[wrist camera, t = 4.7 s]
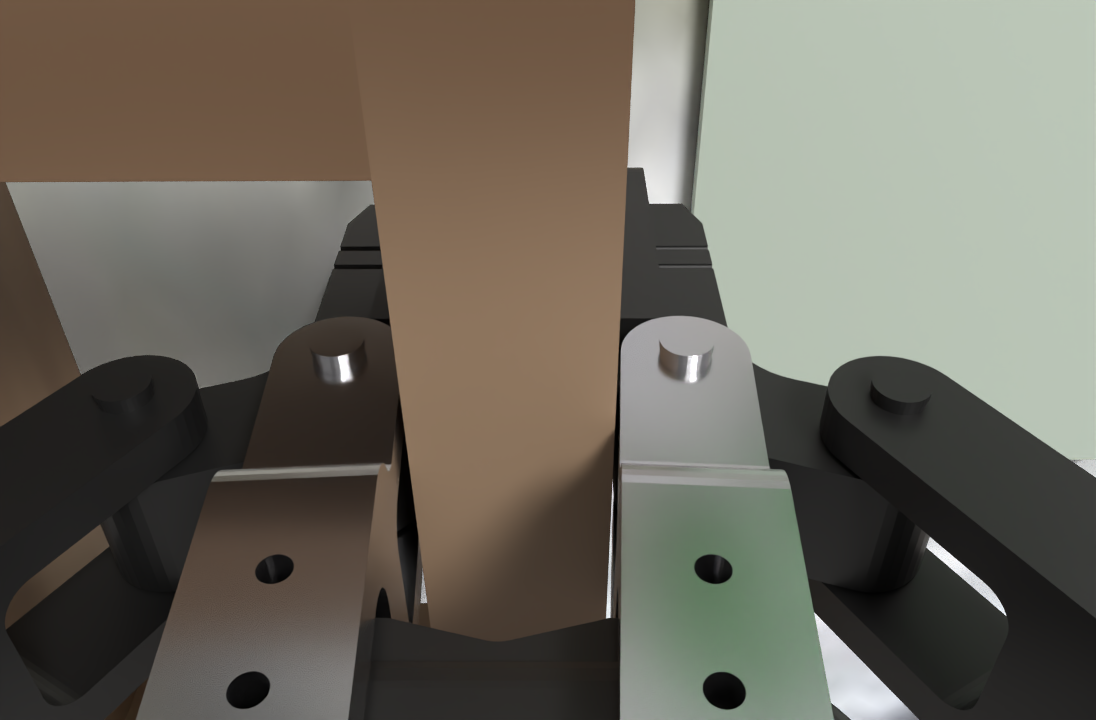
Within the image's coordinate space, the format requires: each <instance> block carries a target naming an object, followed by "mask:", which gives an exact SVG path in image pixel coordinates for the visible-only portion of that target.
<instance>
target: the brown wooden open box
mask: <svg viewBox="0 0 1096 720" xmlns="http://www.w3.org/2000/svg"><path fill="white" fill-rule="evenodd" d="M634 16H635V0H0V427H1V426H2V425H4V424H6V423H7V422H9V421H10V420H12V419H13V418H15V417H17V416H18V415H20V414H21V413H23V412H24V411H26V410H27V409H29V408H31V407H32V406H34V405H35V404H37V403H38V402H40V401H41V400H43V399H45V398H46V397H48V396H49V395H51V394H52V393H54V392H56V391H57V390H59V389H60V388H62V387H63V386H65V385H66V384H68V383H70V382H71V381H73V380H74V379H76V378H77V377H79V376H80V375H81V374H80V372H79V369H78V367H77V364H76V361H75V359H74V356H73V354H72V351H71V349H70V346H69V344H68V341H67V338H66V336H65V333H64V331H63V328H62V326H61V323H60V320H59V318H58V315H57V313H56V310H55V308H54V305H53V303H52V300H51V297H50V295H49V292H48V290H47V287H46V285H45V282H44V280H43V277H42V274H41V272H40V269H39V267H38V264H37V262H36V259H35V257H34V254H33V251H32V249H31V246H30V244H29V241H28V239H27V236H26V233H25V231H24V228H23V226H22V223H21V221H20V218H19V216H18V213H17V210H16V208H15V205H14V203H13V200H12V198H11V195H10V193H9V190H8V187H7V185H6V182H129V181H367V180H372V188H373V195H374V203H375V211H376V218H377V226H378V233H379V241H380V248H381V256H382V263H383V271H384V279H385V286H386V294H387V301H388V309H389V316H390V324H391V331H392V339H393V347H394V354H395V362H396V369H397V377H398V384H399V392H400V399H401V407H402V415H403V422H404V430H405V437H406V445H407V452H408V460H409V467H410V475H411V483H412V490H413V498H414V505H415V513H416V520H417V528H418V535H419V543H420V551H421V558H422V566H423V573H424V581H425V588H426V596H427V603H420V617H419V625H421V626H426V627H430V628H434V629H439V630H443V631H447V632H452V633H456V634H460V635H465V636H469V637H474V638H478V639H482V640H487V641H508V640H513V639H517V638H522V637H526V636H531V635H535V634H540V633H544V632H549V631H553V630H558V629H562V628H567V627H571V626H576V625H580V624H585V623H589V622H594V621H598V620H603V619H606V606H607V584H608V563H609V542H610V521H611V500H612V479H613V458H614V437H615V416H616V395H617V374H618V353H619V332H620V311H621V290H622V269H623V247H624V226H625V205H626V184H627V163H628V142H629V121H630V100H631V79H632V58H633V37H634ZM108 547H109V544H108V542H107V539H106V537H105V534H104V532H103V530H102V527H101V525H99V526H97V527H96V528H95V529H94V530H92V531H91V532H90V533H88V534H87V535H86V536H85V537H83V538H82V539H81V540H79V541H78V542H77V543H76V544H74V545H73V546H72V547H70V548H69V549H68V550H67V551H65V552H64V553H63V554H61V555H60V556H59V557H58V558H56V559H55V560H54V561H52V562H51V563H50V564H49V565H47V566H46V567H45V568H43V569H42V570H41V571H40V572H38V573H37V574H36V575H34V576H33V577H32V578H31V579H29V580H28V581H27V582H26V583H25V584H24V585H23V586H22V587H21V588H20V589H19V590H18V591H17V593H16V594H15V596H14V597H13V599H12V600H11V602H10V604H9V607H8V609H7V612H6V616H5V628H6V629H7V628H8V627H10V626H11V625H12V624H13V623H15V622H16V621H17V620H18V619H20V618H21V617H22V616H23V615H25V614H26V613H27V612H28V611H30V610H31V609H32V608H33V607H35V606H36V605H37V604H38V603H40V602H41V601H42V600H43V599H44V598H46V597H47V596H48V595H49V594H51V593H52V592H53V591H54V590H56V589H57V588H58V587H59V586H61V585H62V584H63V583H64V582H66V581H67V580H68V579H69V578H71V577H72V576H73V575H74V574H76V573H77V572H78V571H79V570H81V569H82V568H83V567H84V566H86V565H87V564H88V563H89V562H90V561H92V560H93V559H94V558H95V557H97V556H98V555H99V554H100V553H102V552H103V551H104V550H105V549H107V548H108ZM148 679H149V678H147V679H146V680H145V681H144V682H143V683H142V684H141V685H140V686H139V687H138V688H137V689H136V690H135V691H134V692H133V693H132V694H131V695H130V696H129V697H127V698H126V699H125V700H124V701H123V702H122V703H121V704H120V705H119V706H118V707H117V708H116V709H115V710H114V711H113V712H112V713H111V714H110V715H109V716H107V717H106V718H105V719H104V720H136V717H137V714H138V711H139V708H140V705H141V701H142V698H143V695H144V692H145V689H146V685H147V682H148Z"/></svg>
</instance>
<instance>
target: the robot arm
mask: <svg viewBox="0 0 1096 720" xmlns="http://www.w3.org/2000/svg"><path fill="white" fill-rule="evenodd" d="M340 247H341V251H339V252H338V255H337V258H336V261H335V264H334V267H335V268H334V269H333V270H332V273H331V276H330V279H329V282H328V285H327V288H326V291H325V293H324V296H323V299H322V302H321V305H320V308H319V311H318V314H317V317H316V320H315V322H314V323H311V324H309V325H306V326H304V327H302V328H300V329H298V330H296V331H295V332H293V333H292V334H291V335H289V336H288V337H287V338H286V339H285V340H284V341H283V342H281V344H280V345H279V347H278V348H277V349H276V352H275V354H274V357H273V360H272V364H271V368H270V371H268V372H266V373H263V374H261V375H258V376H255V377H251V378H247V379H244V380H239V381H234V382H230V383H225V384H220V385H215V386H211V387H206V388H201V389H199V388H198V384H197V381H196V378H195V375H194V373H193V372H192V370H191V369H190V368H189V367H188V366H187V365H185V364H184V363H182V362H180V361H178V360H175V359H172V358H169V357H163V356H153V355H145V356H133V357H126V358H122V359H118V360H114V361H111V362H108V363H105V364H102V365H100V366H98V367H95V368H93V369H91V370H89V371H87V372H86V373H84V374H82V375H80V376H79V377H77V378H76V379H74V380H73V381H71V382H70V383H68V384H66V385H65V386H63V387H62V388H60V389H59V390H57V391H56V392H54V393H52V394H51V395H49V396H48V397H46V398H45V399H43V400H41V401H40V402H38V403H37V404H35V405H34V406H32V407H31V408H29V409H27V410H26V411H24V412H23V413H21V414H20V415H18V416H17V417H15V418H13V419H12V420H10V421H9V422H7V423H6V424H4V425H2V426H1V427H0V720H104V719H105V718H106V717H107V716H109V715H110V714H111V713H112V712H113V711H114V710H115V709H116V708H117V707H118V706H119V705H120V704H121V703H122V702H123V701H124V700H125V699H126V698H127V697H129V696H130V695H131V694H132V693H133V692H134V691H135V690H136V689H137V688H138V687H139V686H140V685H141V684H142V683H143V682H144V681H145V680H146V679H147V678H149V679H148V682H147V685H146V689H145V692H144V695H143V698H142V701H141V705H140V708H139V711H138V714H137V717H136V720H851V719H849V718H848V717H847V716H846V715H845V714H844V713H843V712H841V711H840V710H839V709H838V708H837V707H836V706H834V705H833V704H832V703H831V701H830V696H829V690H828V685H827V680H826V674H825V669H824V664H823V658H822V653H821V647H820V642H819V637H818V631H817V626H816V621H815V615H814V612H815V613H816V614H817V615H818V616H819V617H820V618H821V620H822V621H823V622H824V623H825V624H826V625H827V626H828V627H829V628H830V629H831V630H832V631H833V632H834V633H835V634H836V635H837V636H838V637H839V638H840V639H841V640H842V641H843V642H844V643H845V644H846V645H847V646H848V647H849V648H850V649H851V650H852V651H853V652H854V653H855V654H856V655H857V656H858V657H859V658H860V659H861V660H862V661H863V662H864V663H865V664H866V666H867V667H868V668H869V669H870V670H871V671H872V672H873V673H874V674H875V675H876V676H877V677H878V678H879V679H880V680H881V681H882V682H883V683H884V684H885V685H886V686H887V687H888V688H889V689H890V690H891V691H892V692H893V693H894V694H895V695H896V696H897V697H898V698H899V699H900V700H901V701H902V702H903V703H904V704H905V705H906V706H907V707H908V708H909V709H910V710H911V711H912V713H913V714H914V715H915V716H916V717H917V718H918V719H919V720H1096V478H1095V477H1094V476H1093V475H1091V474H1090V473H1088V472H1087V471H1085V470H1084V469H1082V468H1081V467H1079V466H1078V465H1076V464H1075V463H1074V462H1072V461H1071V460H1069V459H1068V458H1066V457H1065V456H1063V455H1062V454H1060V453H1059V452H1057V451H1056V450H1054V449H1053V448H1052V447H1050V446H1049V445H1047V444H1046V443H1044V442H1043V441H1041V440H1040V439H1038V438H1037V437H1035V436H1034V435H1033V434H1031V433H1030V432H1028V431H1027V430H1025V429H1024V428H1022V427H1021V426H1019V425H1018V424H1016V423H1015V422H1014V421H1012V420H1011V419H1009V418H1008V417H1006V416H1005V415H1003V414H1002V413H1000V412H999V411H997V410H996V409H995V408H993V407H992V406H990V405H989V404H987V403H986V402H984V401H983V400H981V399H980V398H978V397H977V396H976V395H974V394H973V393H971V392H970V391H968V390H967V389H965V388H964V387H962V386H961V385H959V384H958V383H957V382H955V381H954V380H952V379H951V378H949V377H948V376H946V375H945V374H943V373H941V372H940V371H938V370H936V369H934V368H932V367H930V366H927V365H925V364H922V363H919V362H916V361H913V360H909V359H905V358H899V357H892V356H868V357H863V358H858V359H855V360H852V361H849V362H847V363H845V364H843V365H841V366H840V367H839V368H838V369H836V370H835V371H834V373H833V374H832V375H831V377H830V380H829V383H828V386H824V385H819V384H814V383H810V382H805V381H800V380H795V379H791V378H787V377H784V376H780V375H778V374H775V373H772V372H769V371H767V370H765V369H763V368H761V367H759V366H758V365H756V364H754V363H753V362H752V359H751V354H750V351H749V348H748V346H747V345H746V343H745V341H744V340H743V339H742V338H741V337H740V336H739V335H738V334H736V333H735V332H734V331H732V330H731V329H729V328H728V326H727V322H726V318H725V314H724V310H723V306H722V302H721V298H720V294H719V289H718V285H717V281H716V277H715V273H714V269H713V268H712V261H711V257H710V252H709V250H708V244H707V240H706V236H705V232H704V228H703V224H702V222H700V221H699V220H698V219H697V218H696V217H695V216H694V215H693V214H692V213H691V212H690V211H689V210H688V209H687V208H686V207H685V206H684V205H683V204H649V201H648V195H647V189H646V183H645V176H644V170H643V168H627V184H626V205H625V226H624V247H623V269H622V290H621V311H620V332H619V353H618V374H617V395H616V416H615V437H614V458H613V492H614V501H613V521H612V566H611V618H607V619H603V620H598V621H594V622H589V623H585V624H580V625H576V626H571V627H567V628H562V629H558V630H553V631H549V632H544V633H540V634H535V635H531V636H526V637H522V638H517V639H513V640H508V641H487V640H482V639H478V638H474V637H469V636H465V635H460V634H456V633H452V632H447V631H443V630H439V629H434V628H430V627H426V626H421V625H419V617H420V601H421V585H422V568H423V566H422V558H421V551H420V543H419V535H418V528H417V520H416V513H415V505H414V498H413V490H412V483H411V475H410V467H409V460H408V452H407V445H406V437H405V430H404V422H403V415H402V407H401V399H400V392H399V384H398V377H397V369H396V362H395V354H394V347H393V339H392V331H391V324H390V316H389V309H388V301H387V294H386V286H385V279H384V271H383V263H382V256H381V248H380V241H379V233H378V226H377V218H376V211H375V205H369V206H368V207H367V208H366V209H365V210H364V211H363V212H361V213H360V214H359V215H358V216H357V217H356V218H355V219H353V220H352V221H351V222H350V223H349V224H348V226H347V229H346V232H345V235H344V238H343V241H342V243H341V246H340ZM99 525H101V527H102V530H103V532H104V534H105V537H106V539H107V542H108V544H109V547H108V548H107V549H105V550H104V551H103V552H102V553H100V554H99V555H98V556H97V557H95V558H94V559H93V560H92V561H90V562H89V563H88V564H87V565H86V566H84V567H83V568H82V569H81V570H79V571H78V572H77V573H76V574H74V575H73V576H72V577H71V578H69V579H68V580H67V581H66V582H64V583H63V584H62V585H61V586H59V587H58V588H57V589H56V590H54V591H53V592H52V593H51V594H49V595H48V596H47V597H46V598H44V599H43V600H42V601H41V602H40V603H38V604H37V605H36V606H35V607H33V608H32V609H31V610H30V611H28V612H27V613H26V614H25V615H23V616H22V617H21V618H20V619H18V620H17V621H16V622H15V623H13V624H12V625H11V626H10V627H8V628H7V629H6V628H5V616H6V612H7V609H8V607H9V604H10V602H11V600H12V599H13V597H14V596H15V594H16V593H17V591H18V590H19V589H20V588H21V587H22V586H23V585H24V584H25V583H26V582H27V581H28V580H29V579H31V578H32V577H33V576H34V575H36V574H37V573H38V572H40V571H41V570H42V569H43V568H45V567H46V566H47V565H49V564H50V563H51V562H52V561H54V560H55V559H56V558H58V557H59V556H60V555H61V554H63V553H64V552H65V551H67V550H68V549H69V548H70V547H72V546H73V545H74V544H76V543H77V542H78V541H79V540H81V539H82V538H83V537H85V536H86V535H87V534H88V533H90V532H91V531H92V530H94V529H95V528H96V527H97V526H99ZM929 537H931V538H932V539H933V540H935V541H936V542H937V543H938V544H939V545H941V546H942V547H943V548H944V549H945V550H947V551H948V552H949V553H950V554H951V555H952V556H954V557H955V558H956V559H957V560H958V561H960V562H961V563H962V564H963V565H964V566H965V567H967V568H968V569H969V570H970V571H971V572H973V573H974V574H975V575H976V576H977V577H979V578H980V579H981V580H982V581H983V582H984V583H985V584H987V585H988V586H989V587H990V588H991V590H992V591H993V592H994V593H995V594H996V596H997V597H998V599H999V600H1000V602H1001V604H1002V606H1003V607H1004V610H1005V612H1006V615H1007V616H1005V615H1004V614H1003V613H1002V612H1001V611H1000V610H998V609H997V608H996V607H995V606H994V605H993V604H991V603H990V602H989V601H988V600H987V599H986V598H984V597H983V596H982V595H981V594H980V593H979V592H977V591H976V590H975V589H974V588H973V587H972V586H970V585H969V584H968V583H967V582H966V581H965V580H963V579H962V578H961V577H960V576H959V575H958V574H956V573H955V572H954V571H953V570H952V569H950V568H949V567H948V566H947V565H946V564H945V563H943V562H942V561H941V560H940V559H939V558H938V557H936V556H935V555H934V554H933V553H932V552H931V551H929V550H928V549H927V548H926V546H927V543H928V540H929Z"/></svg>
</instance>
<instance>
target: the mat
mask: <svg viewBox="0 0 1096 720" xmlns="http://www.w3.org/2000/svg"><path fill="white" fill-rule="evenodd" d="M691 213H692V214H693V215H694V216H695V217H696V218H697V219H698V220H699V221H700V222H702V224H703V228H704V232H705V236H706V240H707V244H708V250H709V252H710V257H711V261H712V268H713V269H714V273H715V277H716V281H717V285H718V289H719V294H720V298H721V302H722V306H723V310H724V314H725V318H726V322H727V326H728V328H729V329H731V330H732V331H734V332H735V333H736V334H738V335H739V336H740V337H741V338H742V339H743V340H744V341H745V343H746V345H747V346H748V348H749V351H750V354H751V359H752V362H753V363H754V364H756V365H758V366H759V367H761V368H763V369H765V370H767V371H769V372H772V373H775V374H778V375H780V376H784V377H787V378H791V379H795V380H800V381H805V382H810V383H814V384H819V385H824V386H828V383H829V380H830V377H831V375H832V374H833V373H834V371H835V370H836V369H838V368H839V367H840V366H841V365H843V364H845V363H847V362H849V361H852V360H855V359H858V358H863V357H868V356H892V357H899V358H905V359H909V360H913V361H916V362H919V363H922V364H925V365H927V366H930V367H932V368H934V369H936V370H938V371H940V372H941V373H943V374H945V375H946V376H948V377H949V378H951V379H952V380H954V381H955V382H957V383H958V384H959V385H961V386H962V387H964V388H965V389H967V390H968V391H970V392H971V393H973V394H974V395H976V396H977V397H978V398H980V399H981V400H983V401H984V402H986V403H987V404H989V405H990V406H992V407H993V408H995V409H996V410H997V411H999V412H1000V413H1002V414H1003V415H1005V416H1006V417H1008V418H1009V419H1011V420H1012V421H1014V422H1015V423H1016V424H1018V425H1019V426H1021V427H1022V428H1024V429H1025V430H1027V431H1028V432H1030V433H1031V434H1033V435H1034V436H1035V437H1037V438H1038V439H1040V440H1041V441H1043V442H1044V443H1046V444H1047V445H1049V446H1050V447H1052V448H1053V449H1054V450H1056V451H1057V452H1059V453H1060V454H1062V455H1063V456H1065V457H1066V458H1068V459H1069V460H1096V0H710V3H709V14H708V25H707V37H706V48H705V59H704V70H703V81H702V92H701V104H700V115H699V126H698V137H697V148H696V160H695V171H694V182H693V193H692V204H691Z"/></svg>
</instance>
